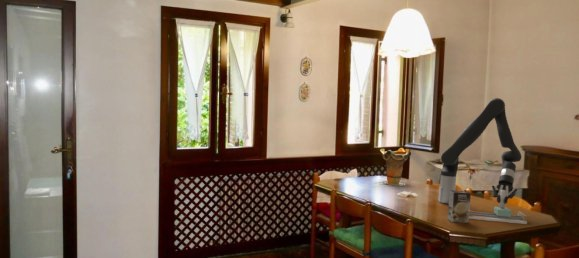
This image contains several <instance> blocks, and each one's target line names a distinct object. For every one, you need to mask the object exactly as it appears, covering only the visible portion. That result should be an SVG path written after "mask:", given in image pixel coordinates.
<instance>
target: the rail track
mask: <svg viewBox="0 0 579 258" xmlns="http://www.w3.org/2000/svg"><path fill="white" fill-rule="evenodd" d="M527 217H528V216H527V215H526V214H525V213H523V212H522V211H519V210H518V211H517V215H516V214H511V217H505V216H497V215H496V214H495V213H494V212H483V211H472V210H471V209H470V208H469V219H468V220H478V221H488V222H500V223H510V224H511V223H512V224H523V225H527V224H528V221H527V219H528V218H527Z"/></svg>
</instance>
